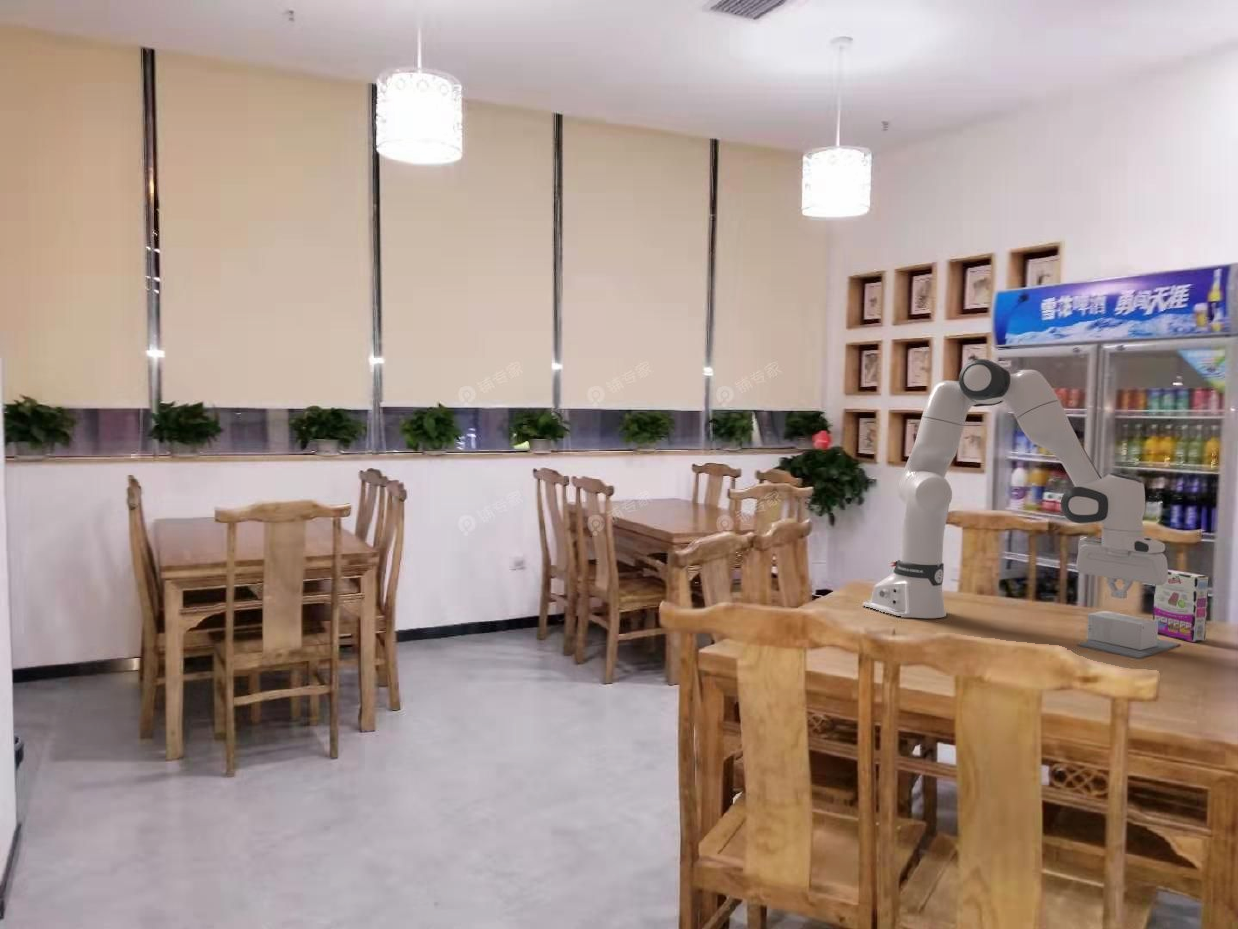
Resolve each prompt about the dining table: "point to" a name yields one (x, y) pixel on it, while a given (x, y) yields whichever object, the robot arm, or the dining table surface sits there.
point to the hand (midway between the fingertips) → (1118, 597)
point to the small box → (1122, 630)
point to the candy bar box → (1182, 606)
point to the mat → (1127, 651)
